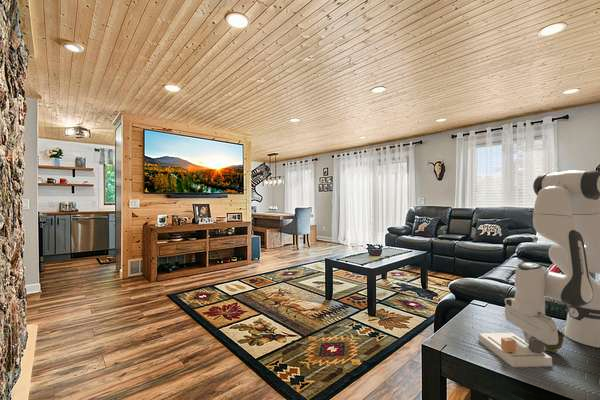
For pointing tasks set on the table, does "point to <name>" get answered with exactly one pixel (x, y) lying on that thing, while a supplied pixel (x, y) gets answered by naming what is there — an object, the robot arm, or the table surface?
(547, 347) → the cup
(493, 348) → the mixer console
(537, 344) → the fader
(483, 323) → the table surface
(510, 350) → the fader
